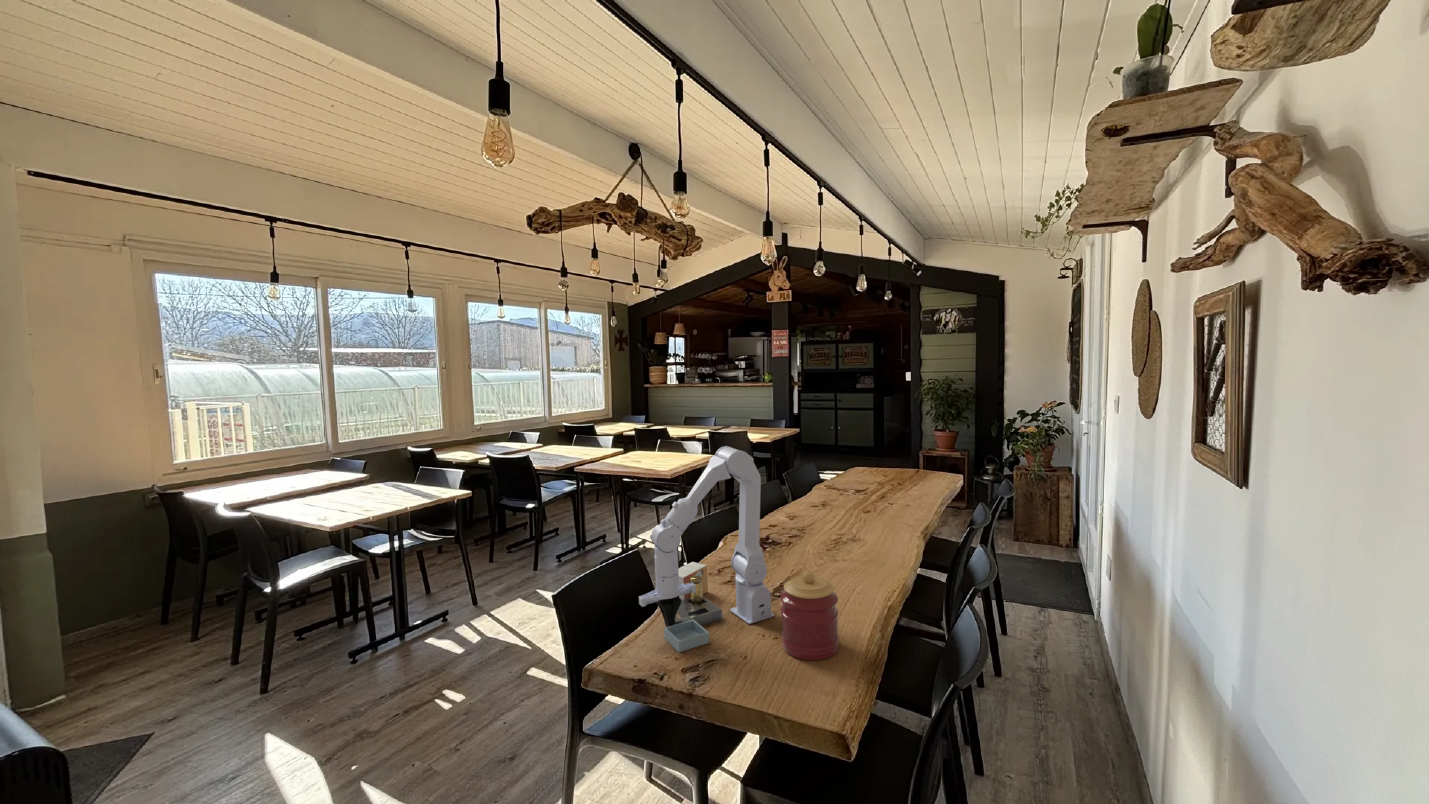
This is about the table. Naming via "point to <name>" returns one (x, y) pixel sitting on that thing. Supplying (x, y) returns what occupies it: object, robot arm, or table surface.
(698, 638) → the tray
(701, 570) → the small box
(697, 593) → the gold metallic cylinder
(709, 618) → the socket block
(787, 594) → the canister
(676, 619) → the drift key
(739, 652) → the table surface
